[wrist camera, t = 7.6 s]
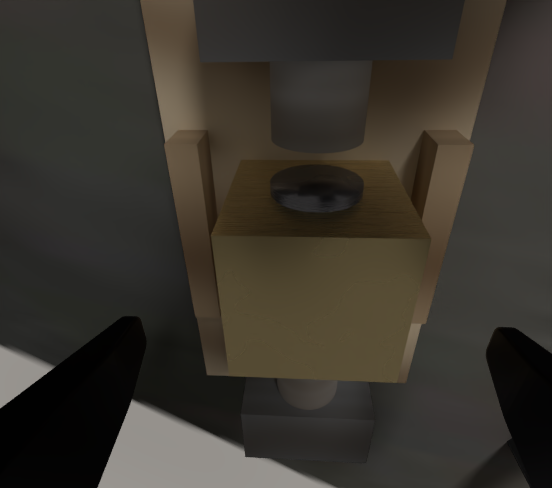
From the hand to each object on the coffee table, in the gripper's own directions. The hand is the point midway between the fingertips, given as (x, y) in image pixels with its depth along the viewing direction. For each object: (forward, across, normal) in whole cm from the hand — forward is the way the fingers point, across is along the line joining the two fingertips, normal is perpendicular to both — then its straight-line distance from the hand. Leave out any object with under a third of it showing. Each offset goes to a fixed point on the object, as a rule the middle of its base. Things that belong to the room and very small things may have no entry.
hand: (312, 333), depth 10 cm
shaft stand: (+7, 0, 0) cm, 7 cm away
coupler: (+5, 0, 0) cm, 5 cm away
